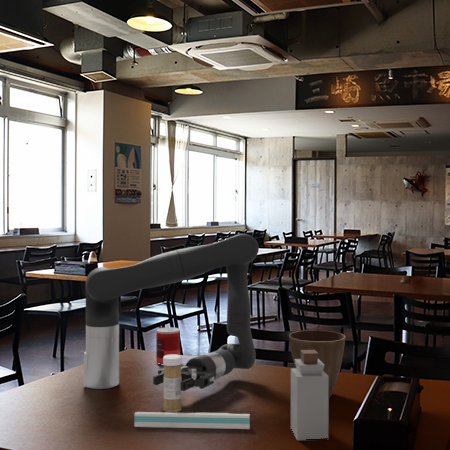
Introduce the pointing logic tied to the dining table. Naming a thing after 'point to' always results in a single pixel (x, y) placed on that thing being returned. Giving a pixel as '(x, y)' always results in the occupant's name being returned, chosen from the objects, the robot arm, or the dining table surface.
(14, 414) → the dining table surface
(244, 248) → the robot arm
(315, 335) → the plant pot
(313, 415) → the perfume bottle
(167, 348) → the canned food
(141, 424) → the rail
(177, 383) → the sprinkles bottle
